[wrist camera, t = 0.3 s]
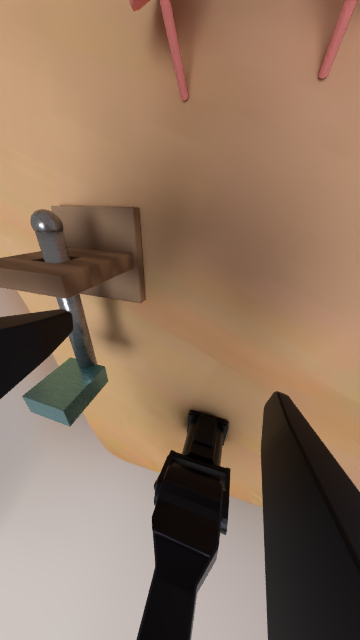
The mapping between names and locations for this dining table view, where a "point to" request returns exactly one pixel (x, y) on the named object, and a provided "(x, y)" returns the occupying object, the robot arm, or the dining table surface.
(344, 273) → the dining table surface
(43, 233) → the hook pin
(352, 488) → the robot arm
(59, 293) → the eye block
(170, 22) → the figurine
